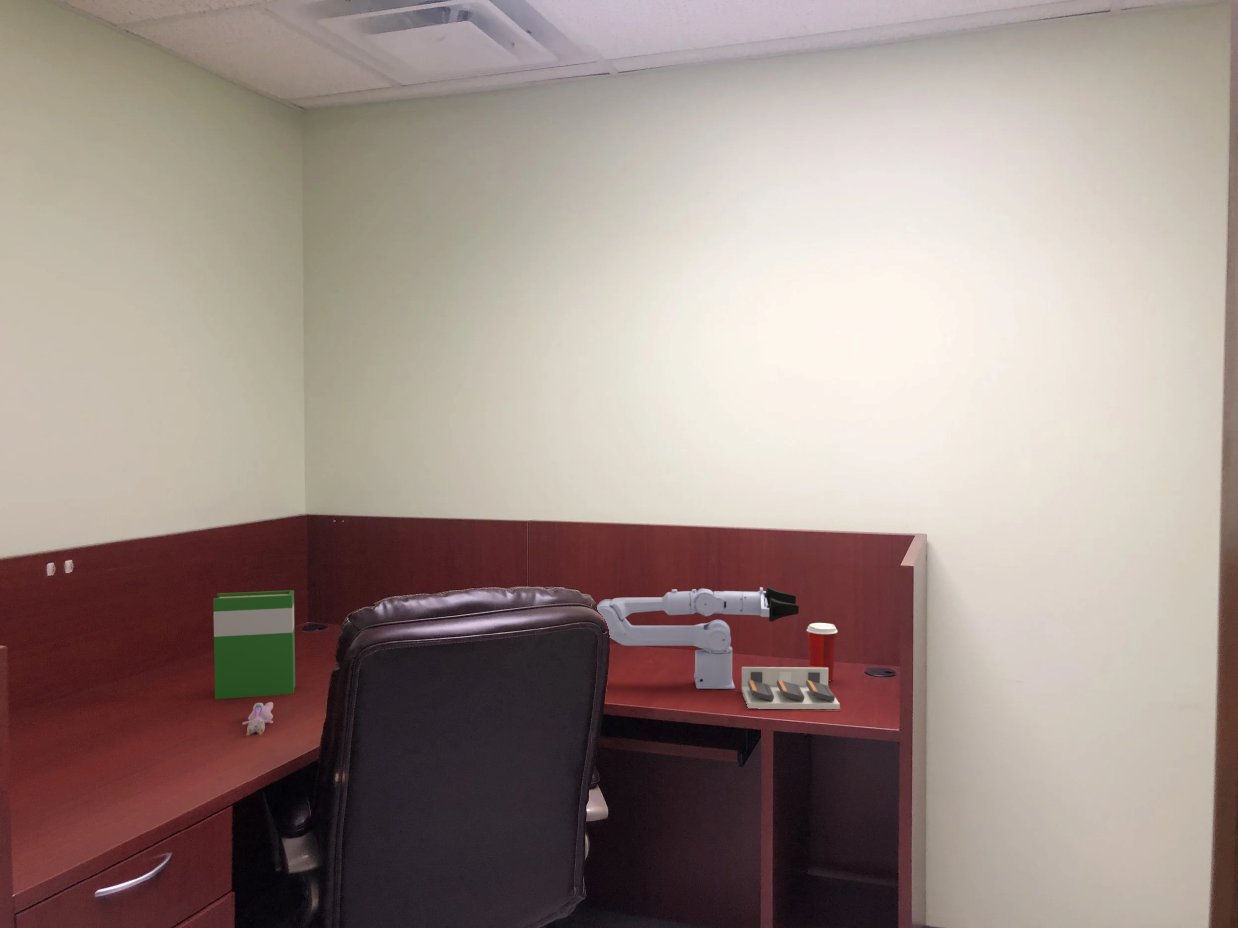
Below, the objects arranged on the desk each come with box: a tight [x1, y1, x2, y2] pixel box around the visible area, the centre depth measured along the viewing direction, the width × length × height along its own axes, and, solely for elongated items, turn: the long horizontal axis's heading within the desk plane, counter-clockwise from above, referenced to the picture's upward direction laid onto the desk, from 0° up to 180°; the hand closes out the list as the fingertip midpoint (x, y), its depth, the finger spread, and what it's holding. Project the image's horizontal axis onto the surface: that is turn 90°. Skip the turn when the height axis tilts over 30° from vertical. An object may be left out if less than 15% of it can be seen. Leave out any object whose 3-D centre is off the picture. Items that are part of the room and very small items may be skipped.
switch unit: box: [741, 666, 841, 710], centre depth 229 cm, size 21×15×6 cm
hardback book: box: [212, 589, 296, 700], centre depth 235 cm, size 18×7×24 cm, turn 105°
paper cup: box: [806, 622, 838, 681], centre depth 247 cm, size 8×8×14 cm
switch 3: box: [806, 680, 836, 701], centre depth 228 cm, size 5×10×1 cm, turn 179°
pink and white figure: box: [241, 701, 274, 737], centre depth 210 cm, size 6×6×15 cm
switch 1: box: [747, 679, 774, 701], centre depth 228 cm, size 5×10×1 cm, turn 179°
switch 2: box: [776, 680, 804, 701], centre depth 228 cm, size 5×10×1 cm, turn 179°
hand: (797, 604), depth 240 cm, fingers open, 7 cm apart
